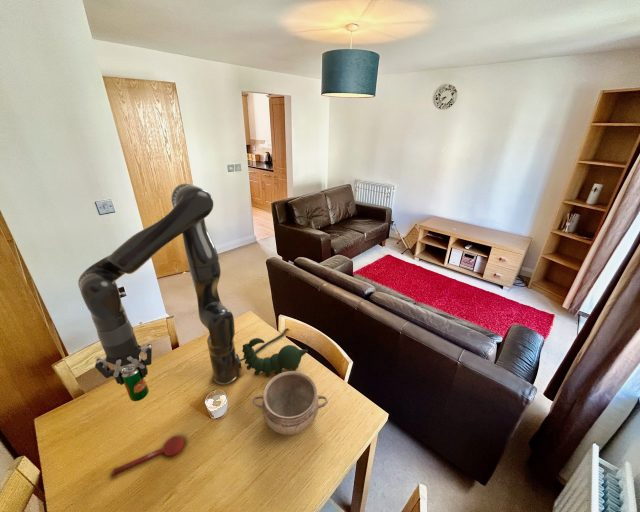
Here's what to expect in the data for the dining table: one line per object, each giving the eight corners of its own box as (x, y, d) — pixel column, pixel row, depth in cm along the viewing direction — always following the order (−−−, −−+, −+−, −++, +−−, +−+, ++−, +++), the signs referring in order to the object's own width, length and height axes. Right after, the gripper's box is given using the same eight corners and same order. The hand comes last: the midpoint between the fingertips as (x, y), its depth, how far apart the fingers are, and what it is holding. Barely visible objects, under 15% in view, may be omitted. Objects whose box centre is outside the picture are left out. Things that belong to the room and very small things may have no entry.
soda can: (140, 404, 83) (129, 376, 78) (126, 400, 84) (114, 373, 79) (153, 389, 88) (143, 362, 83) (139, 386, 89) (129, 359, 83)
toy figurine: (248, 386, 107) (311, 374, 110) (239, 350, 98) (307, 338, 102) (249, 367, 115) (308, 356, 118) (241, 333, 107) (304, 322, 110)
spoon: (183, 434, 88) (182, 431, 87) (184, 450, 84) (184, 448, 83) (113, 464, 80) (112, 462, 79) (111, 484, 75) (110, 482, 75)
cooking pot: (248, 445, 85) (245, 421, 80) (259, 392, 103) (257, 369, 97) (328, 445, 86) (329, 420, 81) (325, 392, 103) (327, 369, 98)
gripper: (81, 354, 69) (103, 398, 77) (146, 336, 76) (160, 379, 83) (87, 335, 75) (106, 378, 83) (147, 320, 82) (160, 361, 89)
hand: (133, 378), depth 83 cm, fingers closed on soda can, 5 cm apart
